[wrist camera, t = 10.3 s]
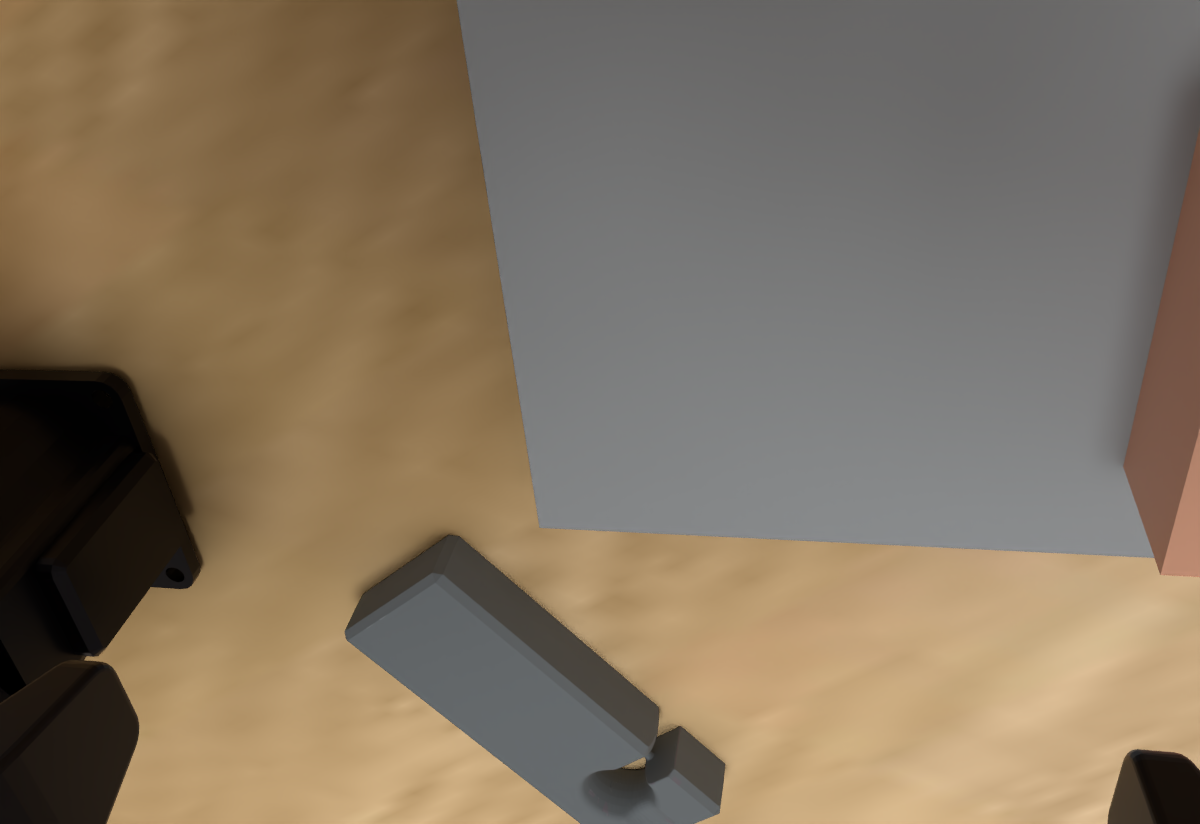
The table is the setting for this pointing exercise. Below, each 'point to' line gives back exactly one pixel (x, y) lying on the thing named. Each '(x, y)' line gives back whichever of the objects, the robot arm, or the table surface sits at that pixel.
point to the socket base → (852, 267)
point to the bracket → (531, 692)
